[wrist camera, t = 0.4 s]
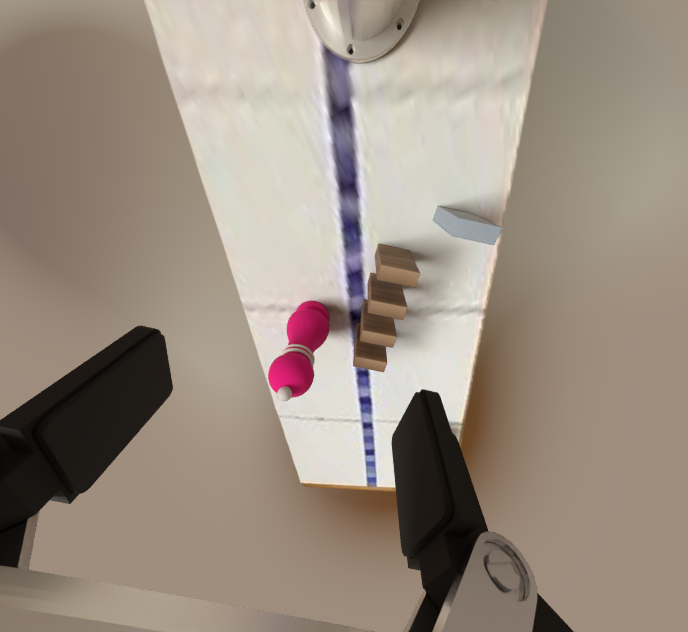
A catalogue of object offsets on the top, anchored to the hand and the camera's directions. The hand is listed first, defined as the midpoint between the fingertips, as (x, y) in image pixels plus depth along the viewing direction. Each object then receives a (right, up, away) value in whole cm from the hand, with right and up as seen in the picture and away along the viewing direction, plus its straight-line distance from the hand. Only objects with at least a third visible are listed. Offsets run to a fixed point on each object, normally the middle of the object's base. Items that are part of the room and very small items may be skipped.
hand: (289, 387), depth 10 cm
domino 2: (+9, +9, +34) cm, 36 cm away
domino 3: (+8, +4, +36) cm, 37 cm away
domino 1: (+10, +13, +31) cm, 35 cm away
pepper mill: (-4, +3, +38) cm, 39 cm away
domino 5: (+18, +17, +28) cm, 37 cm away
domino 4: (+7, 0, +39) cm, 39 cm away
